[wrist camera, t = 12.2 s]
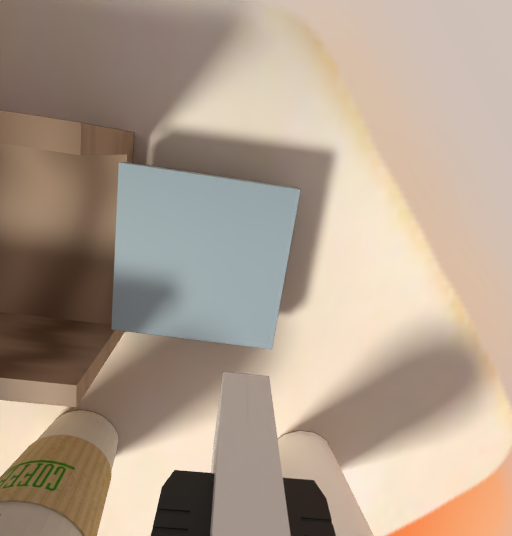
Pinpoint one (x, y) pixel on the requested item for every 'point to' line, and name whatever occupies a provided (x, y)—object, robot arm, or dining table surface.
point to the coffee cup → (60, 479)
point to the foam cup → (323, 479)
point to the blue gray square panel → (200, 255)
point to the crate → (56, 254)
